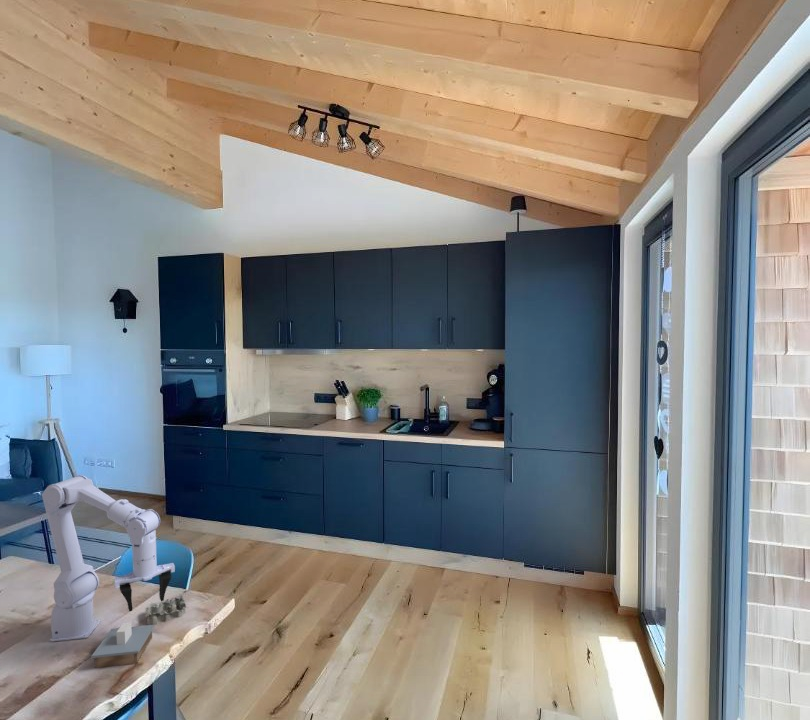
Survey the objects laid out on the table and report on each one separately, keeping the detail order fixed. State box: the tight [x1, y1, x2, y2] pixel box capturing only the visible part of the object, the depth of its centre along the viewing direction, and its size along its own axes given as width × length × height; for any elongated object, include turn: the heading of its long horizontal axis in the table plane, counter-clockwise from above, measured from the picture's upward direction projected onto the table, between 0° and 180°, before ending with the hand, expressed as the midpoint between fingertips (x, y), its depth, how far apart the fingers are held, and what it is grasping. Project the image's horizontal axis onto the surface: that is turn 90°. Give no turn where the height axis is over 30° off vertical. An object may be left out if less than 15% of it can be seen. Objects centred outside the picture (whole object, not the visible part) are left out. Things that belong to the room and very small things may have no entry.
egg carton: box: [144, 594, 187, 626], centre depth 140 cm, size 11×8×4 cm
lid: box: [90, 621, 155, 659], centre depth 124 cm, size 11×11×4 cm
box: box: [94, 631, 153, 669], centre depth 124 cm, size 10×10×3 cm
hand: (146, 604), depth 129 cm, fingers open, 7 cm apart
